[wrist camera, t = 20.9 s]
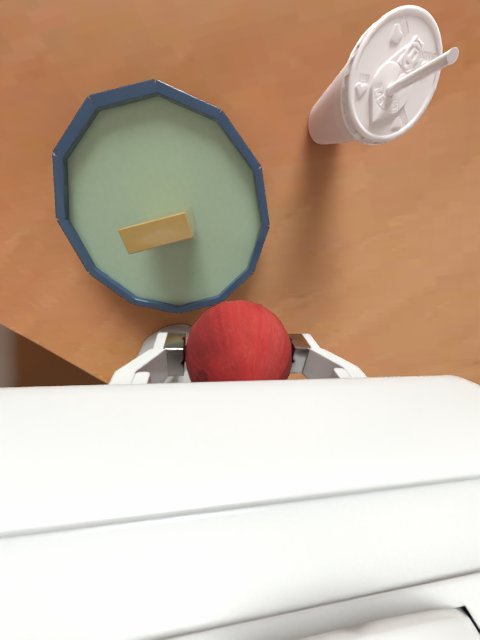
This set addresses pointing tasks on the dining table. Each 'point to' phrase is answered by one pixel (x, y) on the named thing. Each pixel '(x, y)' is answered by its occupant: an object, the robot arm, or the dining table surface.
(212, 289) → the plate
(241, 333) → the onion
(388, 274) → the dining table surface
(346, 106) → the smoothie
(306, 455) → the robot arm
